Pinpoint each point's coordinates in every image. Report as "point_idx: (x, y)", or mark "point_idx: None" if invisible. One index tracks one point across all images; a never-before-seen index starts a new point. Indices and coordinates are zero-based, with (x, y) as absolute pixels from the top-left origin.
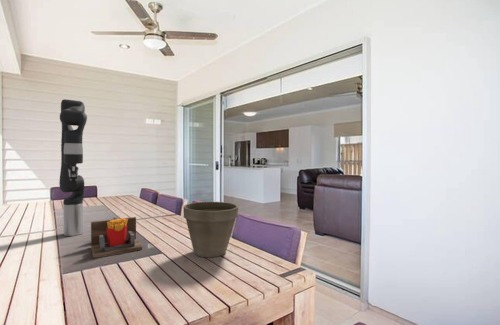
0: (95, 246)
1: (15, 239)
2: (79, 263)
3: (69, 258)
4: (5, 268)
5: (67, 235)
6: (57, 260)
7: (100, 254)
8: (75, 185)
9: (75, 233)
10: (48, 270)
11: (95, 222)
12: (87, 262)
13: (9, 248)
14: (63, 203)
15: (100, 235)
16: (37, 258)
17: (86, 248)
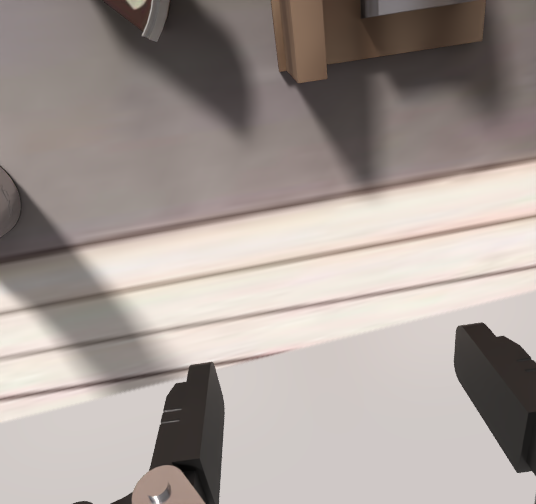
0: (337, 42)
1: (33, 387)
2: (505, 97)
3: (408, 148)
4: (397, 322)
5: (18, 217)
6: (407, 190)
7: (483, 4)
8: (505, 356)
9: (6, 183)
10: (509, 198)
11: (324, 46)
12: (516, 63)
13: (161, 371)
14: None
15: (385, 6)
16: (339, 262)
17: (289, 92)
